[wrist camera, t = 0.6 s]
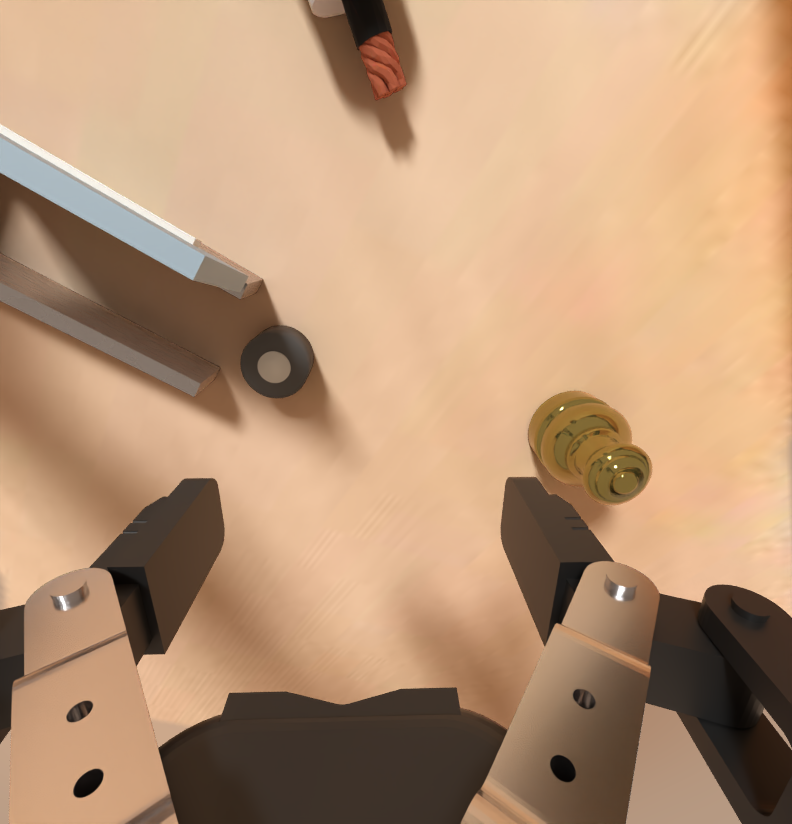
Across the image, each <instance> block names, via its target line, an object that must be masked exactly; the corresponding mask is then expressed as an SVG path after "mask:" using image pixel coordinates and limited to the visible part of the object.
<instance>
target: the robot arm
mask: <svg viewBox="0 0 792 824" xmlns="http://www.w3.org/2000/svg"><path fill="white" fill-rule="evenodd" d="M501 539H502V544H503V548H504V550H505V553H506V555H507V557H508V560H509V562H510V565H511V567H512V569H513V572H514V574H515V577H516V579H517V581H518V584H519V586H520V589H521V591H522V593H523V596H524V598H525V601H526V603H527V605H528V608H529V610H530V613H531V615H532V617H533V620H534V622H535V625H536V627H537V629H538V632H539V634H540V637H541V639H542V641H543V644H544V646H545V648H544V650H543V652H542V655H541V657H540V659H539V661H538V664H537V666H536V668H535V670H534V673H533V675H532V677H531V679H530V682H529V684H528V686H527V688H526V691H525V693H524V695H523V697H522V700H521V702H520V704H519V706H518V709H517V711H516V713H515V715H514V718H513V720H512V722H511V724H510V727H509V729H508V730H507V729H506V728H504V727H503V726H501V725H499V724H498V723H496V722H495V721H493V720H491V719H489V718H487V717H485V716H483V715H481V714H478V713H475V712H473V711H470V710H467V709H463V708H460V705H459V700H458V694H457V688H420V689H399V690H396V691H392V692H389V693H385V694H382V695H378V696H375V697H371V698H368V699H364V700H361V701H357V702H353V703H350V704H345V705H339V704H334V703H330V702H326V701H322V700H318V699H314V698H310V697H306V696H302V695H298V694H293V693H289V692H250V693H229V695H228V698H227V701H226V704H225V707H224V710H223V713H222V715H218V716H215V717H212V718H210V719H207V720H205V721H202V722H200V723H198V724H196V725H194V726H192V727H190V728H188V729H186V730H184V731H183V732H181V733H179V734H178V735H176V736H175V737H173V738H171V739H170V740H168V741H167V742H166V743H165V744H163V745H162V746H160V747H159V748H158V745H157V741H156V737H155V734H154V730H153V727H152V722H151V719H150V715H149V711H148V708H147V704H146V700H145V697H144V693H143V689H142V685H141V682H140V678H139V674H138V671H137V667H136V666H137V664H138V663H139V661H140V659H141V658H142V656H143V655H147V654H165V653H166V651H167V649H168V647H169V646H170V644H171V642H172V640H173V638H174V636H175V634H176V633H177V631H178V629H179V627H180V625H181V623H182V621H183V620H184V618H185V616H186V614H187V612H188V610H189V608H190V607H191V605H192V603H193V601H194V599H195V597H196V595H197V594H198V592H199V590H200V588H201V586H202V584H203V582H204V581H205V579H206V577H207V575H208V573H209V571H210V569H211V568H212V566H213V564H214V562H215V560H216V558H217V556H218V555H219V553H220V551H221V548H222V545H223V541H224V522H223V515H222V509H221V502H220V495H219V489H218V484H217V482H216V480H215V479H213V478H197V479H184V480H182V481H181V483H180V484H179V485H178V486H177V487H176V488H175V489H174V491H173V492H172V493H171V494H170V495H169V496H168V497H162V498H160V499H159V500H157V501H155V502H154V503H152V504H150V505H149V506H147V507H145V508H144V509H143V510H142V511H141V512H140V514H139V515H138V516H137V517H136V518H135V519H134V520H133V523H130V524H129V525H128V527H127V528H126V529H125V530H124V531H123V534H120V535H119V536H118V537H117V538H116V539H115V541H114V542H113V543H112V544H111V545H110V546H109V547H108V548H107V549H106V550H105V551H104V552H103V553H102V555H101V556H100V557H99V558H98V559H97V560H96V561H95V562H94V563H93V564H92V565H91V566H90V567H89V568H86V569H80V570H75V571H72V572H69V573H66V574H63V575H61V576H59V577H57V578H55V579H53V580H51V581H49V582H47V583H46V584H44V585H43V586H41V587H40V588H39V589H38V590H36V591H35V592H34V593H33V594H32V595H31V596H30V598H29V599H28V600H27V602H26V604H25V605H21V606H17V607H12V608H8V609H3V610H0V743H1V742H2V741H3V739H4V738H5V736H6V735H7V734H8V732H9V731H10V729H11V754H10V755H11V756H10V793H9V824H626V819H627V812H628V806H629V801H630V794H631V788H632V782H633V776H634V770H635V764H636V757H637V751H638V746H639V738H640V733H641V727H642V721H643V715H644V708H645V703H648V704H651V705H655V706H659V707H662V708H666V709H669V710H673V711H676V712H677V714H678V715H679V717H680V718H681V720H682V722H683V724H684V726H685V727H686V729H687V731H688V732H689V734H690V736H691V738H692V739H693V741H694V743H695V744H696V746H697V748H698V750H699V751H700V753H701V755H702V756H703V758H704V760H705V761H706V763H707V765H708V766H709V768H710V770H711V772H712V774H713V775H714V777H715V779H716V780H717V782H718V784H719V786H720V787H721V789H722V791H723V792H724V794H725V796H726V797H727V799H728V801H729V802H730V804H731V806H732V808H733V809H734V811H735V813H736V815H737V816H738V818H739V820H740V821H741V823H742V824H792V750H791V749H790V747H788V745H787V744H786V742H785V741H784V740H783V738H782V737H781V736H780V735H779V733H778V732H777V731H776V729H775V728H774V727H773V725H772V724H771V723H770V722H769V720H768V719H767V718H766V716H765V715H764V714H763V710H764V708H765V709H766V710H767V712H768V713H769V714H770V715H771V717H772V718H773V719H774V721H775V722H776V723H777V724H778V726H779V727H780V728H781V730H782V731H783V732H784V734H785V735H786V737H787V739H788V741H789V743H790V745H791V747H792V617H790V616H789V615H788V614H787V613H786V612H785V611H784V610H783V609H782V608H780V607H779V606H778V605H776V604H775V603H773V602H772V601H770V600H769V599H767V598H765V597H763V596H761V595H759V594H757V593H755V592H752V591H750V590H747V589H744V588H740V587H737V586H732V585H714V586H711V587H709V588H708V589H707V590H706V592H705V594H704V597H703V600H702V603H700V602H696V601H691V600H686V599H682V598H677V597H672V596H668V595H664V594H660V593H659V592H658V589H657V588H656V586H655V585H654V583H653V582H652V581H651V580H650V579H649V578H648V577H646V576H645V575H644V574H642V573H641V572H639V571H637V570H636V569H634V568H632V567H629V566H627V565H624V564H621V563H616V562H614V561H613V559H612V558H611V557H610V555H609V554H608V553H607V551H606V550H605V549H604V547H603V546H602V545H601V543H600V542H599V541H598V539H597V538H596V537H595V535H594V534H593V533H592V531H591V530H588V526H587V525H586V524H585V522H584V521H583V520H581V517H580V516H579V514H578V513H577V512H576V510H575V509H574V508H573V506H572V505H571V504H569V503H568V502H566V501H565V500H563V499H562V498H560V497H559V496H557V495H548V493H547V492H546V490H545V489H544V487H543V486H542V485H541V483H540V482H539V480H538V479H537V478H536V477H509V478H508V479H507V481H506V485H505V493H504V502H503V510H502V519H501Z"/></svg>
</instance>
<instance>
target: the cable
mask: <svg viewBox="0 0 792 824" xmlns="http://www.w3.org/2000/svg"><path fill="white" fill-rule="evenodd" d="M308 2H309V5H310V7H311V10H312V13H313V14H314V15H316V16H318V17H324V18H327V17H332V16H337V15H341V14H344V13H346V16H347V19H348V22H349V25H350V28H351V31H352V34H353V37H354V40H355V43H356V46H357V49H358V50H360V51H361V59H362V61H363V62H364V64H365V66H366V70H367V75H368V78H369V80H370V81H371V85H372V89H373V93H374V97H375V100H378V99H381V98H386V97H388V96H390V95H391V94H393V93H395V92H398V91H400V90H401V89H403V87H404V86H406V81H405V77H404V74H403V71H402V68H401V66H400V62H399V56H398V54H397V53H396V51H395V46H394V41H393V38H392V36H391V34H392V29H391V26H390V23H389V19H388V16H387V13H386V10H385V7H384V3H383V0H308ZM392 92H393V93H392Z"/></svg>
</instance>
